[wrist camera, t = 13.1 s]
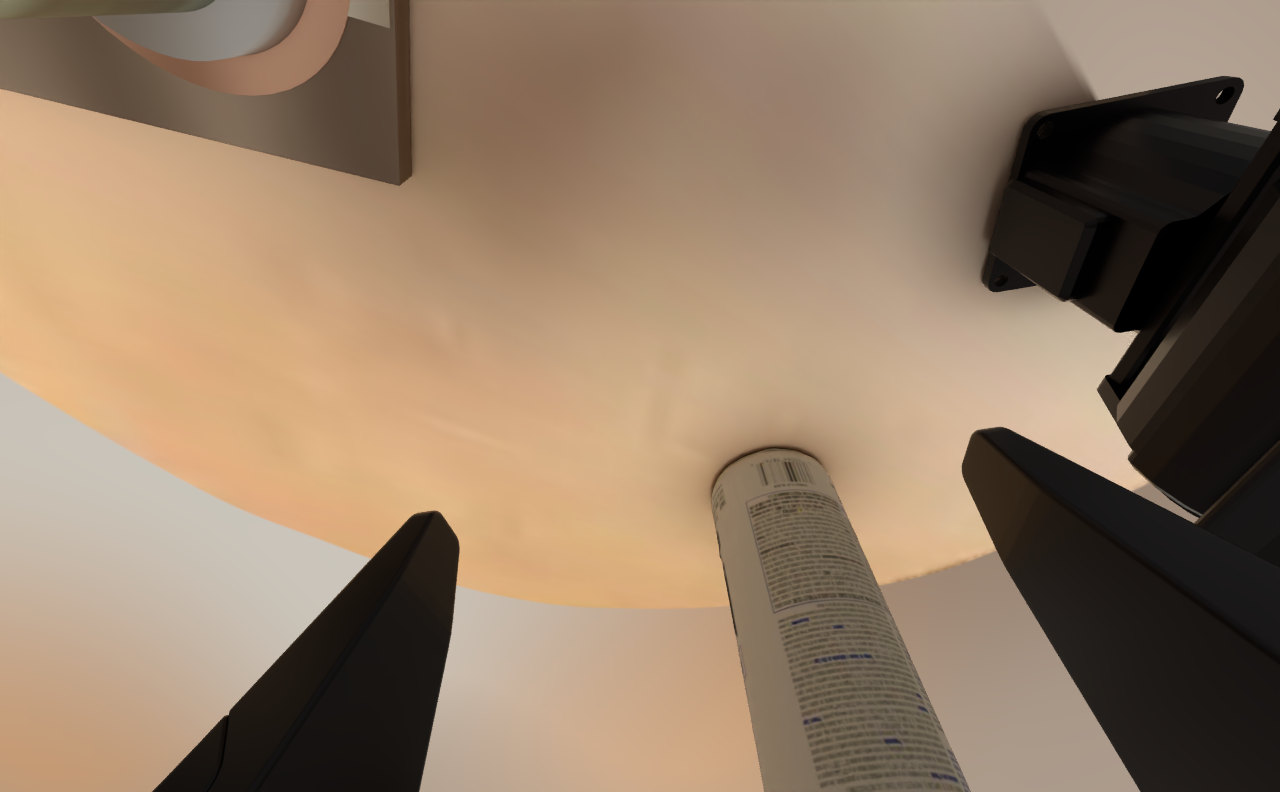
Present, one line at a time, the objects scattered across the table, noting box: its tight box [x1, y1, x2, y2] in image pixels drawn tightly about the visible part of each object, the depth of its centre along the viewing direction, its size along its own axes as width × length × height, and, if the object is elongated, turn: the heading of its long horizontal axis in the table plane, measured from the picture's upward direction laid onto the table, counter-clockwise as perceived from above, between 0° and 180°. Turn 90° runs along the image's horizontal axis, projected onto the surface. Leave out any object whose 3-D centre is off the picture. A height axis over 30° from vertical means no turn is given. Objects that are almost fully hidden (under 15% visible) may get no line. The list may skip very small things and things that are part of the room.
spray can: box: [711, 448, 971, 792], centre depth 20 cm, size 7×7×20 cm
